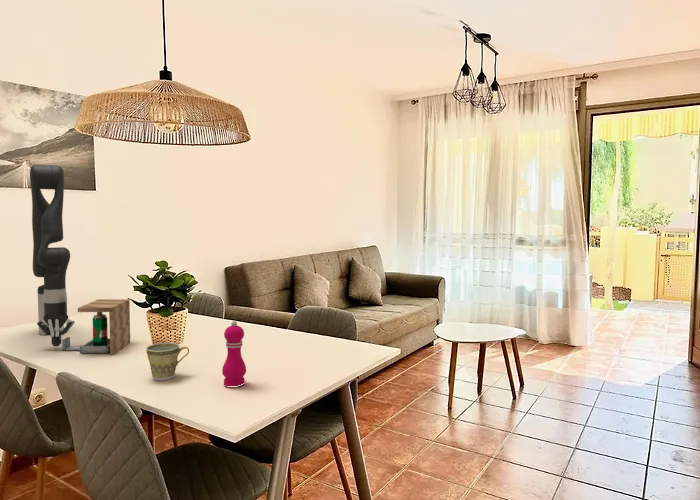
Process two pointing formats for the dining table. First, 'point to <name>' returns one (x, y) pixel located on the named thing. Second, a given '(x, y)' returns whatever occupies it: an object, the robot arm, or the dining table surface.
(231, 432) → the dining table surface
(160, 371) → the ceramic cup
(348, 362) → the dining table surface
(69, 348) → the tray
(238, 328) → the pepper mill
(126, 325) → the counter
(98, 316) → the soda can
